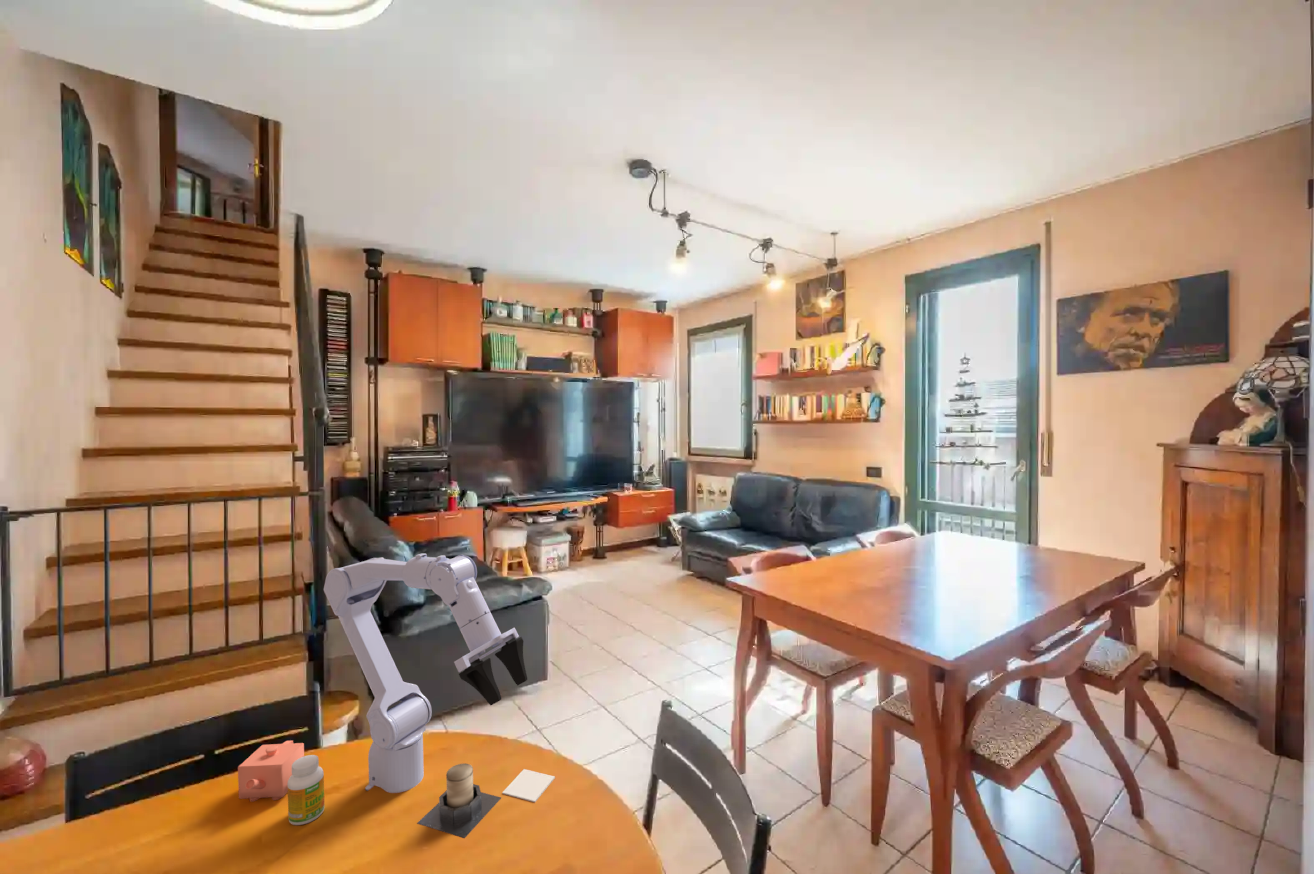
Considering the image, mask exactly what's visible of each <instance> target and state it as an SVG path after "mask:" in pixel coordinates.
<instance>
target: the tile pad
mask: <svg viewBox="0 0 1314 874" xmlns="http://www.w3.org/2000/svg"><path fill="white" fill-rule="evenodd" d="M555 779H556V777H555V775H550V774H546V773H541V772H537V771H534V770H530V769H525V768H523V770H522V771H520V773H519V774H518V775H517V776H516V777H515V778H514V779H513V780H512V782H510V784H509V785H508V786H507V787H506V788H505V789H504V790H503V791H502V793H501V794H503V795H506V796H510V797H512V798H513V797H514V798H518V799H521V800H524V801H528V802H532V803H536V802H537V801H538V800H539V798H540V797H541V796H542V795H543V794H544V792H545V791H546V790H547V788H548V787H549V786H550V785H551V784H552V783H553V781H554V780H555Z"/></svg>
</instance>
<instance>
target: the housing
mask: <svg viewBox="0 0 1314 874" xmlns="http://www.w3.org/2000/svg"><path fill="white" fill-rule="evenodd" d="M438 798H439V799H438V801H439V802H437V804H436V805H435V806H434V807H432V808H431V809H430V810H429V811H428V812H427V813H426V814H425V815H423V817H422V818H421V819H419V820H418V822H417V823H416V824H417V825H421V826H424V827H426V828H427V827H428V828H430V829H434V830H436V831H439V832H442V833H443V832H444V833H446V834H450V835H453V836H456V837H459V838H462V839H465V838H466V837H467V836H468V835H469V834H470V833H471V832H472V831H473V829H474V828H476V827H477V825H478V824H480V822H481V821H482V820H483V819H484V818H485V817H486V815H487V814H488V813H489V812H490V811H492V809H493V808H494V807H495V806H496V805H497V803H498V802H499V801H500V800H501V799H502V797H500V796H497V795H493V794H490V793H486V792H481V788H480V785H478V784H475V783H473V801H472V802H471V803H470V804H468V805H465V806H462V807H459V808H455V809H454V808H451V807H447V789H446V790H445V791H444V792H443V793H442V794H441V795H440V796H438Z"/></svg>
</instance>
